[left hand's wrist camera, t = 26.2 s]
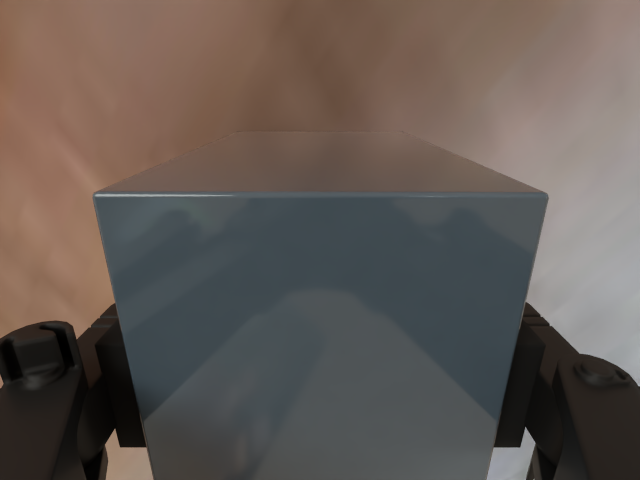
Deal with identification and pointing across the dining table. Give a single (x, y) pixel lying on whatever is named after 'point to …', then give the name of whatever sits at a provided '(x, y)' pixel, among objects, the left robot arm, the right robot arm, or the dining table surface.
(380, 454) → the block
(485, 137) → the dining table surface
